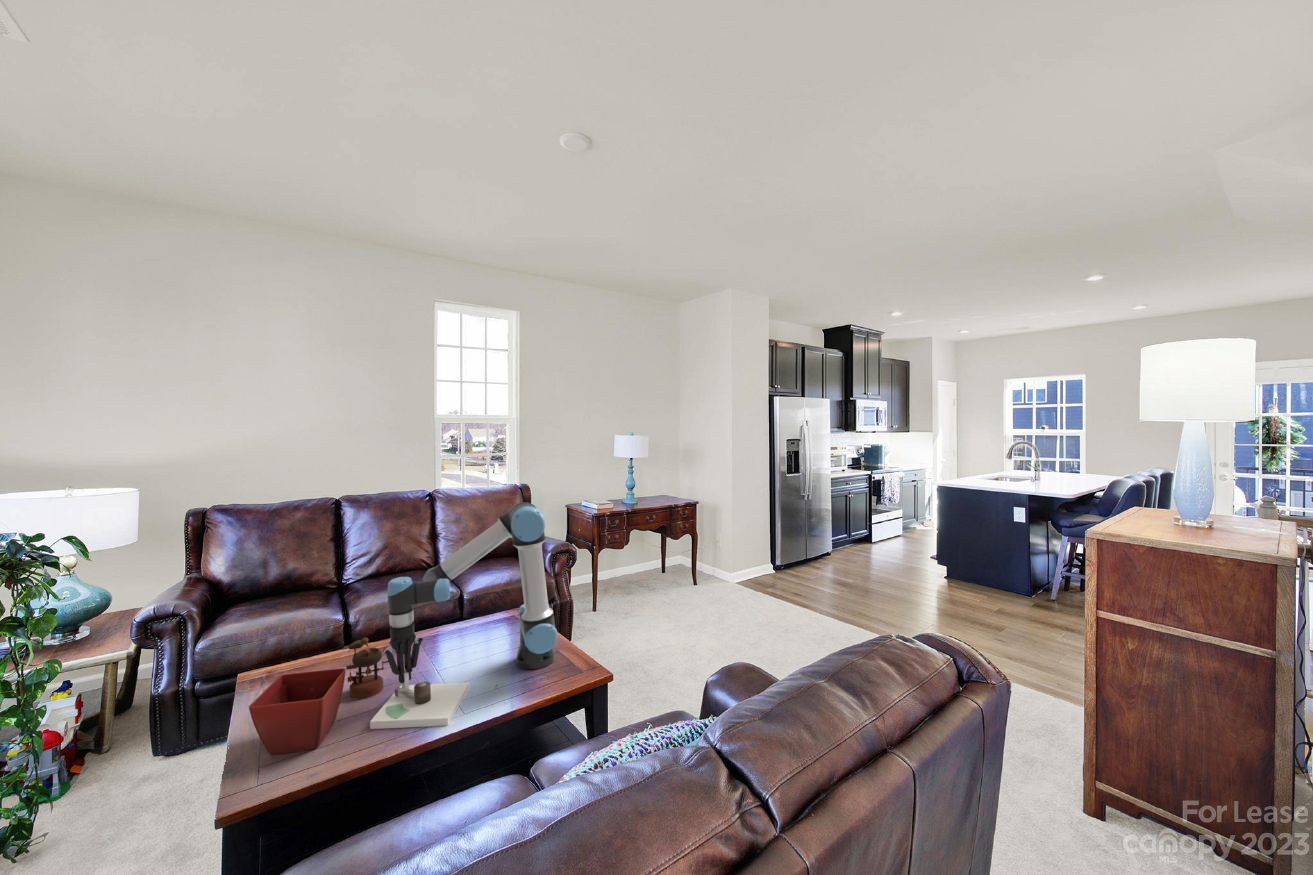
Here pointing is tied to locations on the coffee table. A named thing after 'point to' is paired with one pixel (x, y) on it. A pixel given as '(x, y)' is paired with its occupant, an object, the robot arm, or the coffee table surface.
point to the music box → (365, 658)
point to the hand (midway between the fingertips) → (405, 690)
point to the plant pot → (298, 710)
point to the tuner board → (421, 708)
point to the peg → (416, 692)
